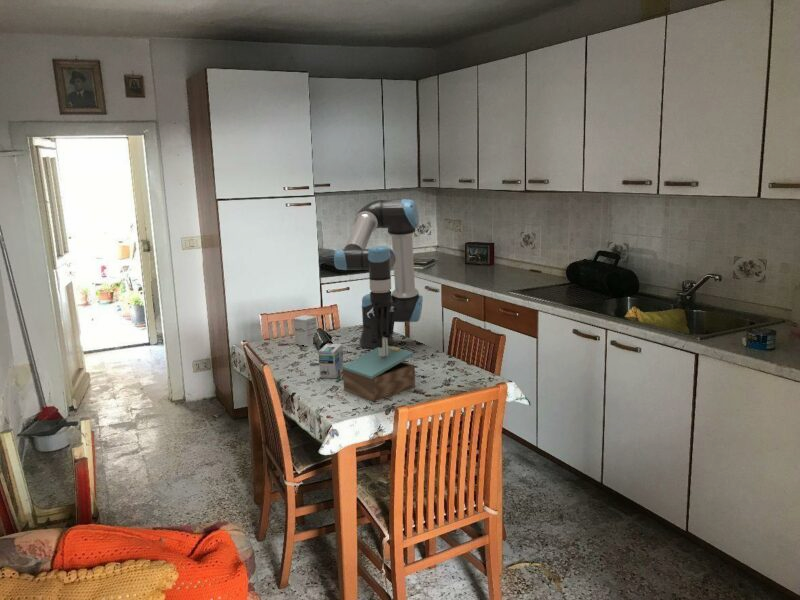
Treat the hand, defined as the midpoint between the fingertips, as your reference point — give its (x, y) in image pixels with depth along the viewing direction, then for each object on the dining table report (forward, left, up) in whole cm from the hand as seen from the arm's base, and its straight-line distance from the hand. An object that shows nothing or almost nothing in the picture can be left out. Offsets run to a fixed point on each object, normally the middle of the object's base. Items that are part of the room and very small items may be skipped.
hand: (383, 355), depth 231 cm
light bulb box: (+4, -26, -12) cm, 29 cm away
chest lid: (+2, 0, -2) cm, 3 cm away
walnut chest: (+2, 0, -12) cm, 12 cm away
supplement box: (-13, -69, -12) cm, 71 cm away
